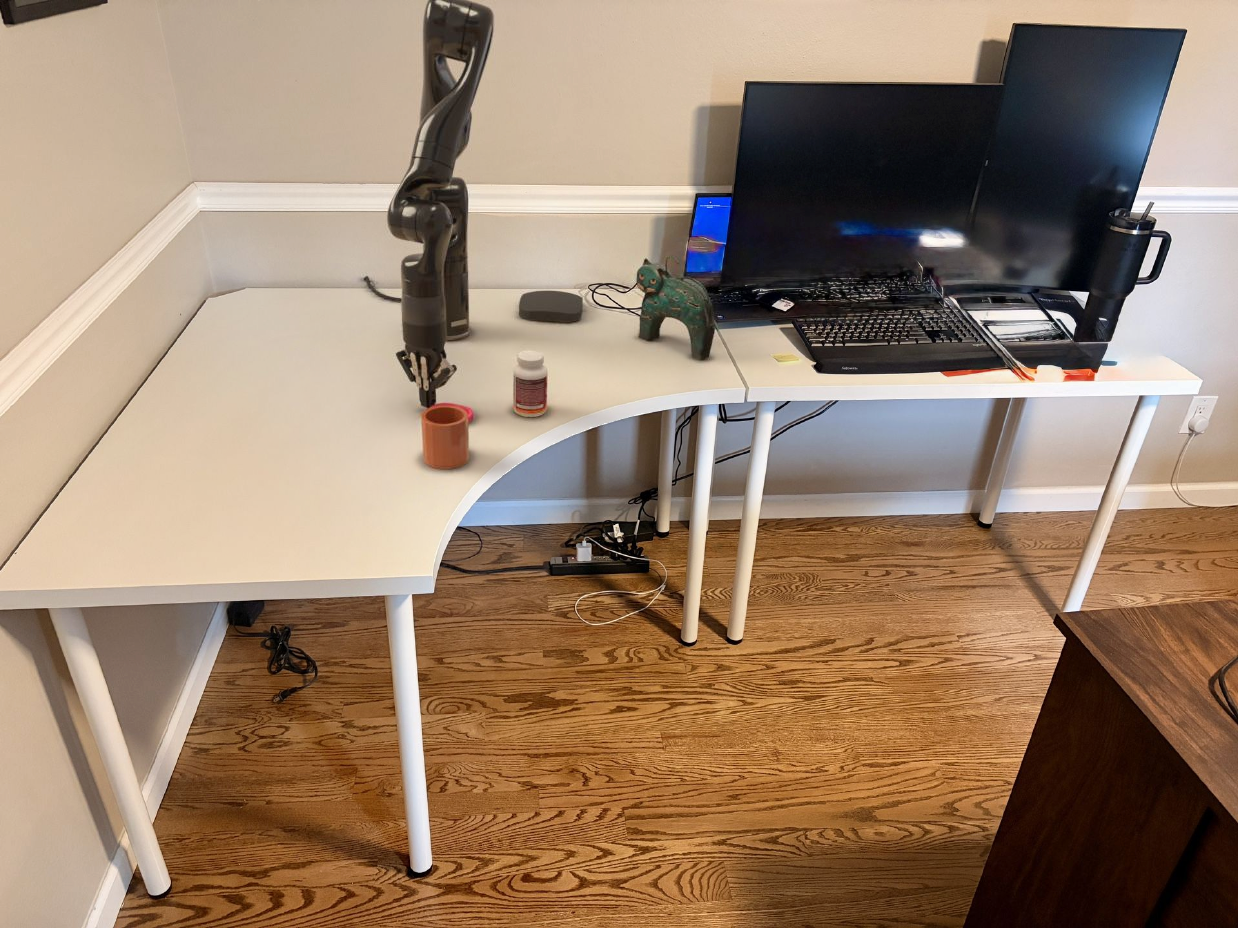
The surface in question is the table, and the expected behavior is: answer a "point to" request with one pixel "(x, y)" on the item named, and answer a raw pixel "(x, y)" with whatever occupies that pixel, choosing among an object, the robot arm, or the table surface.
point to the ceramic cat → (675, 306)
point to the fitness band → (467, 409)
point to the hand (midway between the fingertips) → (427, 405)
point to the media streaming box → (551, 306)
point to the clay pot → (445, 437)
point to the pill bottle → (530, 384)
